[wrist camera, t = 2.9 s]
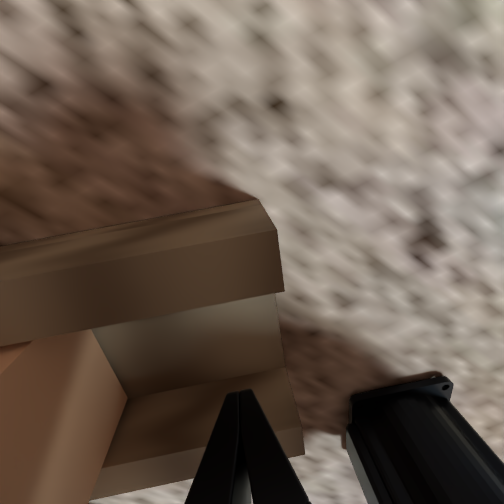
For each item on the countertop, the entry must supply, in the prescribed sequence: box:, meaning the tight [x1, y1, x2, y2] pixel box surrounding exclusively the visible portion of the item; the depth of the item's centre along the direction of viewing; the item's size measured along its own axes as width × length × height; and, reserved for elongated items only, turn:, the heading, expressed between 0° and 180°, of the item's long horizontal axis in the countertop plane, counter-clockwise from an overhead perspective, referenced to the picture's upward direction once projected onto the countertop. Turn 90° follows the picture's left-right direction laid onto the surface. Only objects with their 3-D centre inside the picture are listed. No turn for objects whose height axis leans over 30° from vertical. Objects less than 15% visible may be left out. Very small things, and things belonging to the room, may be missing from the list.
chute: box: [0, 199, 305, 501], centre depth 10 cm, size 23×11×5 cm, turn 99°
